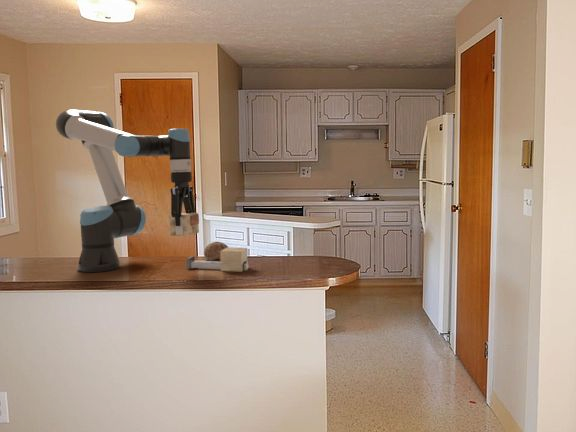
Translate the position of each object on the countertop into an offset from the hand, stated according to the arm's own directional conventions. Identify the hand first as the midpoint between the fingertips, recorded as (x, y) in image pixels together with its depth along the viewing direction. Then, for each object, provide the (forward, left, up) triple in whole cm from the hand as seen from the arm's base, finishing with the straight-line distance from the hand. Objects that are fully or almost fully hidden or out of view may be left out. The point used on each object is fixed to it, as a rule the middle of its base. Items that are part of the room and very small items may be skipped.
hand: (184, 233), depth 192 cm
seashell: (+5, +21, -14) cm, 26 cm away
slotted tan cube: (0, 0, 0) cm, 0 cm away
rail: (+11, +5, -14) cm, 19 cm away
